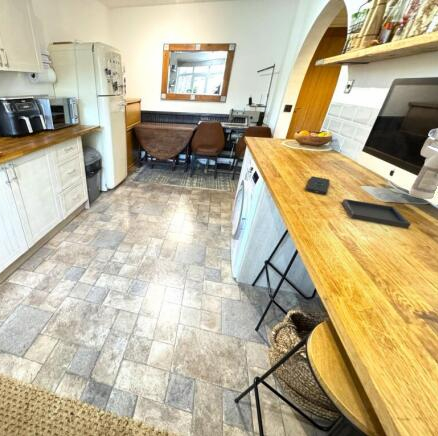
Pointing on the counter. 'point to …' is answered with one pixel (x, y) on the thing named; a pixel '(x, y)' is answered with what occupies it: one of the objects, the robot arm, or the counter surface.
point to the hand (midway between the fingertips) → (431, 174)
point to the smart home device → (318, 185)
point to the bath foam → (426, 180)
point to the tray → (375, 213)
